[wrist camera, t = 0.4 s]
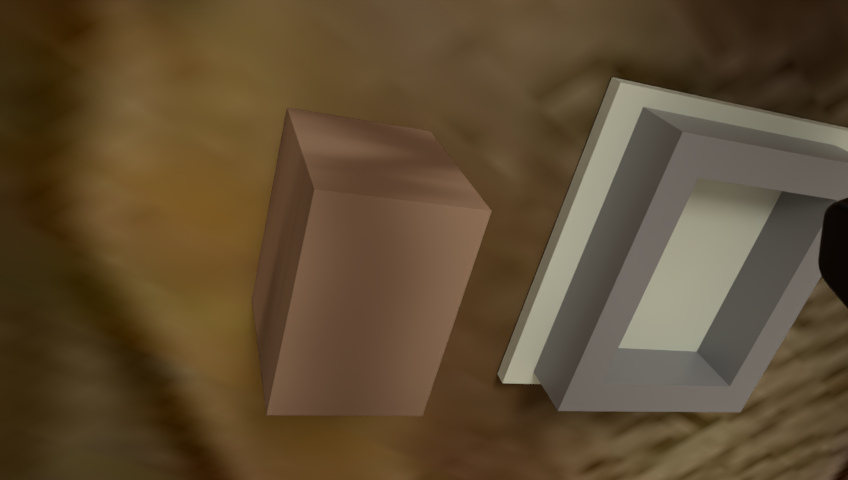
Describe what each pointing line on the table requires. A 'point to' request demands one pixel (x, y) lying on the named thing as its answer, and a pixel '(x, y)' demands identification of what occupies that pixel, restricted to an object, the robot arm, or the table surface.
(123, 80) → the table surface
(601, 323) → the socket board
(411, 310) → the walnut block
